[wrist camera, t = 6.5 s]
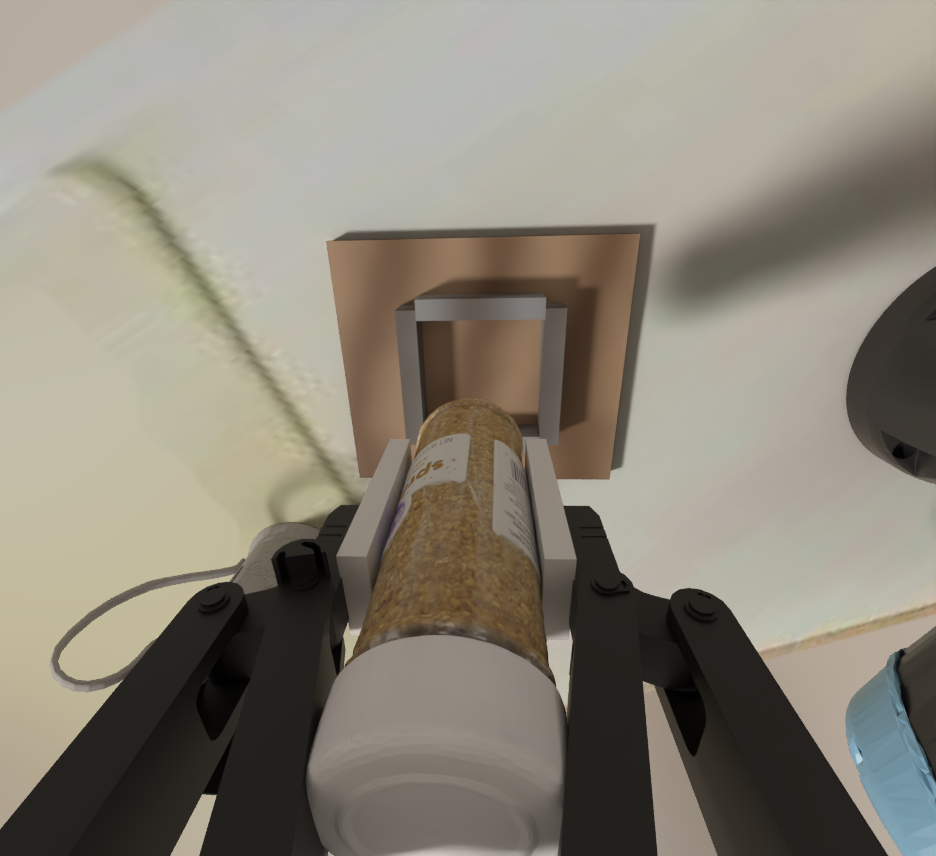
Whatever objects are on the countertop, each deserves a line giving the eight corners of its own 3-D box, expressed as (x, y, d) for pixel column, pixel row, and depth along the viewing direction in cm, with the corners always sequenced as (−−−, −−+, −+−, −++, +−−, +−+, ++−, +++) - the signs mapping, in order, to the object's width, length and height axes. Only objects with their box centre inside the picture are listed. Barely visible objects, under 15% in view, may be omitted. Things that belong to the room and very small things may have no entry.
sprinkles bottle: (418, 391, 18) (271, 733, 6) (530, 399, 18) (610, 763, 6) (417, 486, 20) (303, 893, 8) (518, 494, 20) (560, 916, 8)
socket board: (635, 233, 26) (651, 234, 23) (606, 472, 33) (616, 494, 30) (331, 240, 27) (313, 242, 24) (363, 470, 34) (352, 492, 31)
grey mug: (332, 616, 40) (249, 817, 27) (176, 556, 38) (1, 740, 25) (366, 548, 37) (291, 739, 23) (197, 478, 35) (6, 642, 21)
